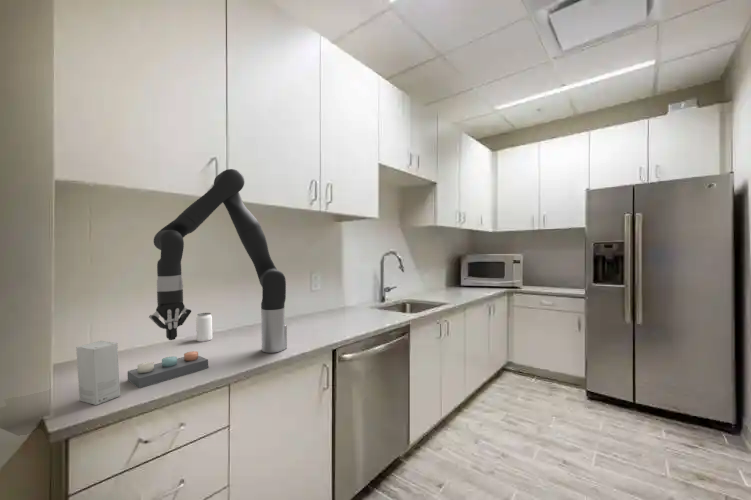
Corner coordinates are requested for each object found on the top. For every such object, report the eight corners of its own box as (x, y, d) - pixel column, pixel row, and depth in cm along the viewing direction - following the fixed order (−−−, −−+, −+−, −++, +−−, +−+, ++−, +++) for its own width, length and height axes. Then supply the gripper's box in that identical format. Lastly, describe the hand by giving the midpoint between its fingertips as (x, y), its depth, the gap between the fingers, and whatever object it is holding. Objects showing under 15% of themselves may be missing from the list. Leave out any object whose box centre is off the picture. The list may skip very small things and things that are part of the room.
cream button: (151, 367, 112) (150, 361, 112) (156, 370, 109) (156, 363, 109) (135, 371, 108) (135, 364, 108) (140, 374, 106) (140, 367, 106)
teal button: (173, 361, 117) (173, 355, 117) (179, 363, 115) (179, 358, 115) (159, 364, 114) (159, 359, 114) (165, 367, 111) (165, 361, 111)
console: (194, 362, 126) (194, 354, 126) (208, 367, 120) (208, 359, 120) (127, 380, 109) (127, 371, 109) (139, 388, 103) (138, 378, 103)
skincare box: (120, 396, 97) (119, 342, 97) (94, 406, 91) (92, 349, 91) (103, 391, 101) (102, 339, 100) (76, 401, 95) (75, 345, 94)
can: (195, 342, 151) (194, 315, 151) (198, 338, 157) (197, 313, 157) (210, 341, 153) (210, 314, 153) (213, 337, 159) (213, 312, 159)
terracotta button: (194, 356, 123) (194, 350, 123) (200, 358, 120) (200, 352, 120) (181, 359, 119) (181, 353, 119) (187, 361, 117) (187, 356, 117)
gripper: (185, 285, 123) (186, 333, 123) (143, 290, 112) (145, 342, 112) (195, 287, 118) (196, 336, 118) (152, 292, 107) (154, 346, 108)
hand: (171, 339), depth 115 cm, fingers closed
